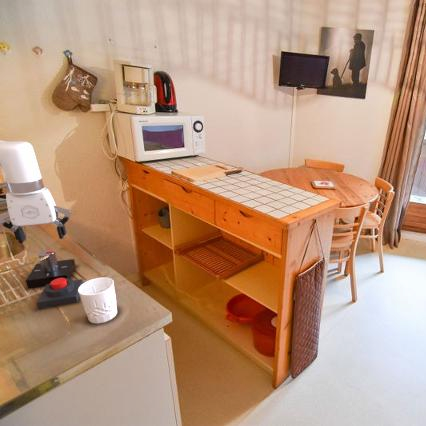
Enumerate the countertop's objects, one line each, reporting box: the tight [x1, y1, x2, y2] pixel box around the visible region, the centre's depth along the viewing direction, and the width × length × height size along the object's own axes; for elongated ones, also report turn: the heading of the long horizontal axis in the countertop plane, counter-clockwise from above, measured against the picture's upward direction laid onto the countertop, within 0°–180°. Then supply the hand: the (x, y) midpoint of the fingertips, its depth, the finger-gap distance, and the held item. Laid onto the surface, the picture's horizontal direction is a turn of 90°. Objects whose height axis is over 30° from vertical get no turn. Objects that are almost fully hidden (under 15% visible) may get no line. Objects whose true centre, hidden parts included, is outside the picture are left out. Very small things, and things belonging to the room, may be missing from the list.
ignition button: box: [50, 278, 67, 290], centre depth 92 cm, size 4×4×2 cm
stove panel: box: [25, 258, 76, 290], centre depth 101 cm, size 10×10×3 cm
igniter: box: [36, 278, 84, 310], centre depth 93 cm, size 9×9×4 cm
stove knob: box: [37, 249, 59, 272], centre depth 100 cm, size 4×4×6 cm
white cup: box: [78, 276, 118, 325], centre depth 86 cm, size 8×8×10 cm
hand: (43, 239), depth 97 cm, fingers open, 9 cm apart
